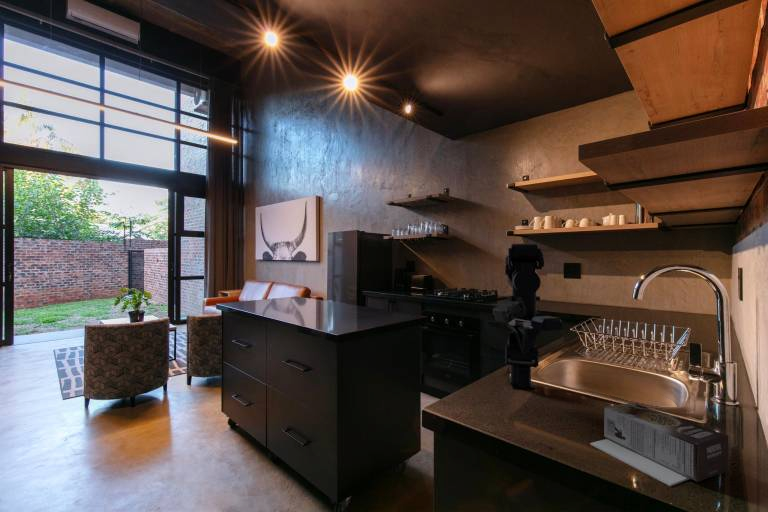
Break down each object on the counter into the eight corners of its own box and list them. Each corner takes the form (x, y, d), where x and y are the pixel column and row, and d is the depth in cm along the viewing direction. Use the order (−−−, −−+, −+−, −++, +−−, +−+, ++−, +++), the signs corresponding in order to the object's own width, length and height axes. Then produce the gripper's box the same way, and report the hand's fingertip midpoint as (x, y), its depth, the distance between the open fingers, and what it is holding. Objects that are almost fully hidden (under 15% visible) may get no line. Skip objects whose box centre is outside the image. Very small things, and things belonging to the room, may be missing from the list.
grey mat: (590, 444, 69) (590, 443, 69) (636, 432, 75) (636, 431, 75) (670, 486, 56) (670, 484, 56) (719, 468, 62) (719, 466, 62)
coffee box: (632, 400, 75) (729, 434, 60) (632, 431, 75) (730, 472, 60) (603, 406, 72) (698, 443, 57) (603, 438, 71) (699, 484, 56)
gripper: (475, 290, 96) (476, 348, 95) (526, 295, 78) (526, 365, 77) (508, 290, 99) (509, 345, 99) (563, 294, 82) (564, 361, 81)
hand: (524, 353), depth 89 cm, fingers closed
